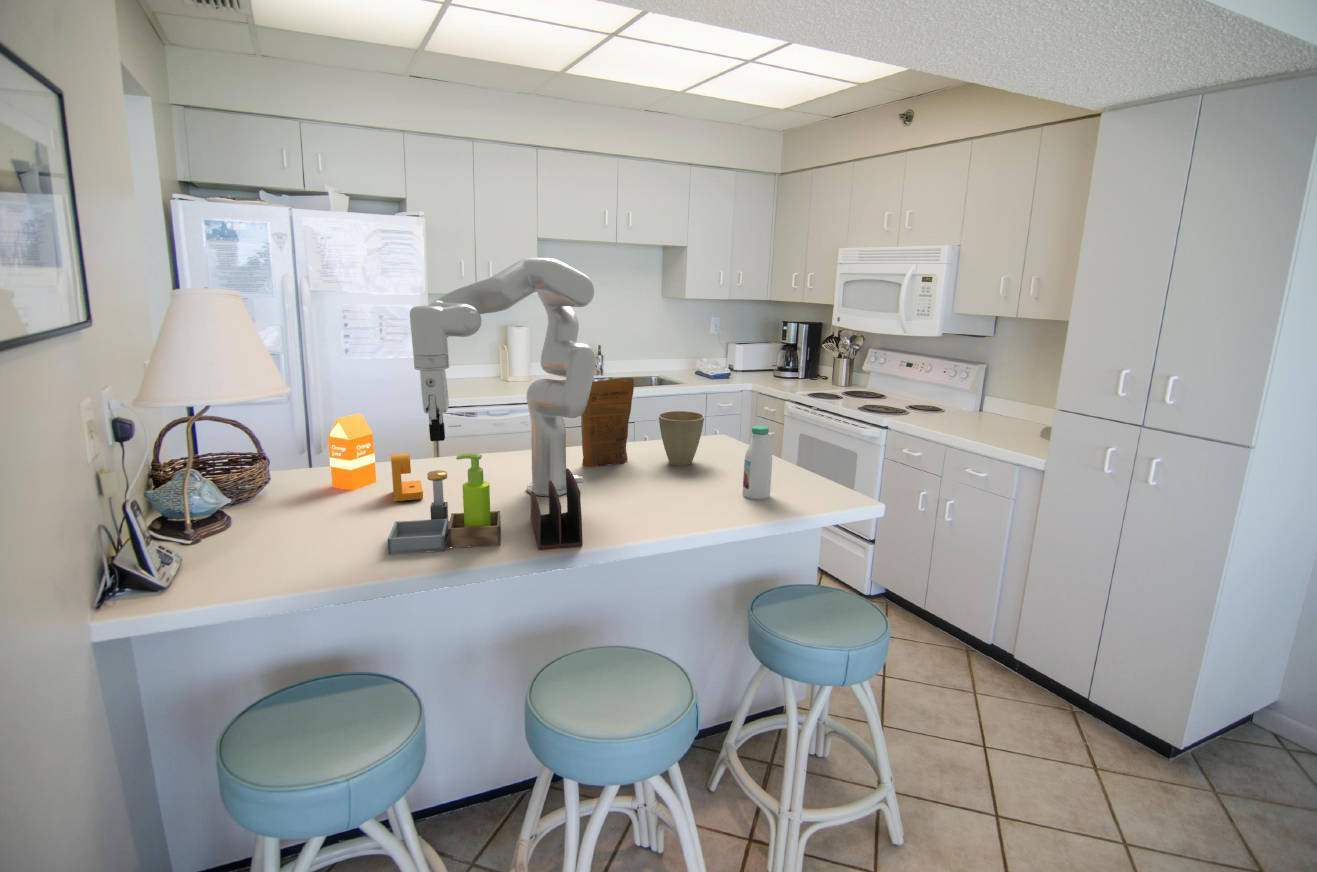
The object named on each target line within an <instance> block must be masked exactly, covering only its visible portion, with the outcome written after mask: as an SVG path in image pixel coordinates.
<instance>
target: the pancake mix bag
mask: <svg viewBox="0 0 1317 872" xmlns="http://www.w3.org/2000/svg"><path fill="white" fill-rule="evenodd" d="M634 388H635V378H633V377H619V378H612V379H611V378H610V379H606V380H596V381H594V380H593V382H592V386H591V390H590V395H589V399H588V403H587V406H586V408H585V410H584V412H583V413H582V414H581V415H580V419H581V421H580V426H581V427H580V429H581V448H582V449H581V451H582V461H581V463H582V464H581V466H583V467H589V468H590V467H591V468H596V467H601V466H609V465H610V466H611V465H617V464H624V463H627V462H628V460H629V459H628V454H627V441H628V435H629V421H630V417H631V411H632V402H633V397H634V390H635V389H634Z"/></svg>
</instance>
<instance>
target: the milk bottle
mask: <svg viewBox="0 0 1317 872" xmlns="http://www.w3.org/2000/svg"><path fill="white" fill-rule="evenodd" d="M751 435H752V436H751V439H750V442H749V445H748V446H747V449H746V451H745V455H744V461H743V463H744V465H743V477H742V478H743V479H742V480H743V481H742V496H743V497H745V498H747V499H749V500H750V499H751V500H756V501H757V500H758V501H760V500H767V499H769V498H770V496H771V489H772V486H771V485H772V484H771V483H772V473H773V472H772V471H773V469H772V468H773V454H772V449H771V447H770V445H769V441H768V436H769V427H768V426H765V425H753V426H752V428H751Z"/></svg>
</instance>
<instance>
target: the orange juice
mask: <svg viewBox="0 0 1317 872" xmlns="http://www.w3.org/2000/svg"><path fill="white" fill-rule="evenodd" d="M373 434H374V433H373V431H372V429H371V428H370V427H369V425H368V423H367V422H366V419H365V418H364V415H363V414H362V413H361V412H360V413H355V414H350V415H346V416H341V417H338V418H336V420H335V422H334V423H333V425H332V428H331V431H330V432H329V434H328V436H327V441H328V442H327V444H328V451H329V452H328V455H329V465H330V466H329V467H330V474H331V482H332V483H331V484H332V487H333V488H338V489H342V490H347V491H356V490H358V489H360V488H364V487H366V485H367V486H369V484H370V485H372V484H375V483H377V474H376V473H377V472H376V457H375V449H374V448H375V447H374V435H373ZM371 483H372V484H371ZM363 486H364V487H363Z"/></svg>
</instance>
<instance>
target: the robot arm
mask: <svg viewBox="0 0 1317 872" xmlns="http://www.w3.org/2000/svg"><path fill="white" fill-rule="evenodd" d="M534 293H537V296H538V298H539V299H540V301H541V303H542V305H543V306H544V309H545V311H546V316H547V320H548V321H547V327H546V333H545V337H544V343H543V345H542V346H543V347H542V350H541V354H540V355H541V356H540V366H541V369H542V371H544V372H545V373H546V374H548V375H549V374H550V375H552V376H558V377H559V376H560V377H563V378H564V377H565V380H564V381H563V380H557V379H552V378H551V379H550V378H538V379H536V380H534V381H533V382H531V384H530V385H529V386H528V389H527V392H526V404H527V407H528V411H529V417H530V418H529V419H530V430H531V431H530V432H531V433H530V435H531V437H530V439H531V442H530V444H531V481H530V483H528V484H527V485H526V491H527V493H529V494H531V491H533V492H534V494H535V496H540V497H549V485H548V483H549V480H551V481H552V483H553V485H554V487H555V489H556V492H557V494H558V496H561V495H567V490H566V468H567V442H566V440H567V438H566V437H567V429H566V423H565V421H564V418H568V419H577V418H579V417H581V414H582V413H583V412H584V410H585V408H586V406H587V403H588V399H589V395H590V390H591V386H592V382H594V377H595V372H596V365H597V364H596V363H597V362H596V356H595V352H594V350H593V349H592V347H590V346H589V345H588V344H585V343H581V342H577V341H578V337H579V330H580V329H579V328H580V325H579V324H580V323H579V319H578V316H577V314H576V311H575V310H574V308H584V307H586V306H588V305H589V304H590V303H591V302H592V301H593V299H594V296H595V288H594V284H593V282H592V280H591V279H590V277H588V276H587V275H586V274H584V273H583V272H581V271H579V270H577V269H575V268H574V267H572V266H569V264H566V263H564V262H563V261H560V260H558V259H555V258H550V257H526V258H522V259H520V260H518V261H516V262H514V263H513V264H511V265H510V266H508V267H506V268H504V269H502V270H500V271H499V272H497V273H495V274H494V275H492V276H490V277H488V278H486V279H483V280H480V281H476V282H473V283H471V284H468V285H466V286H465V285H464V286H463V287H460V288H457V289H455V290H452V291H450V292H448V293H446V294H444V295H442V296H440V297H439V298H437V299H435V300H433V301H432V302H431V303H430V304H428V305H417V306H414V307H412V308H410V311H409V322H410V323H409V324H410V332H411V344H412V345H411V346H412V357H413V369H414V370H417V371H419V375H420V376H419V377H420V391H421V398H422V399H421V400H422V405H423V406H422V408H423V412H424V413H425V414H426V415H428V423H429V424H428V429H429V430H428V432H429V440H430V442H442V441H445V439H446V432H445V431H446V430H445V429H446V428H445V422H444V414H446V413H447V412H448V409H449V406H450V400H449V393H448V383H447V372H446V369H447V370H448V369H449V368H450V358H449V357H450V356H449V346H448V337H458V338H459V337H460V338H467V337H471V336H472V335H475V334H476V333H477V332H478V331H479V330H480V328H481V326H482V316H481V315H484V314H493V313H499V312H502V311H503V312H504V311H506V310H509V309H511V308H512V307H513V306H515V305H516V304H518V303H519V302H521V301H523V300H524V299H526V298H527V297H529V296H530V295H533V294H534ZM573 476H574V478H575V480H576V483H577V484H583V482H584V477H583V476H578V475H577V474H575V475H573Z"/></svg>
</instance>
